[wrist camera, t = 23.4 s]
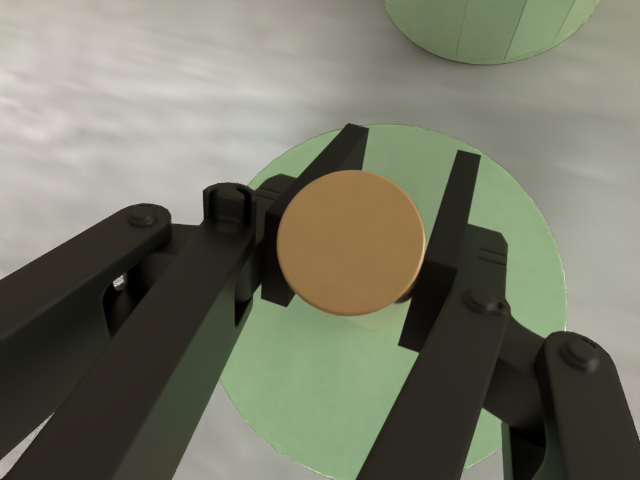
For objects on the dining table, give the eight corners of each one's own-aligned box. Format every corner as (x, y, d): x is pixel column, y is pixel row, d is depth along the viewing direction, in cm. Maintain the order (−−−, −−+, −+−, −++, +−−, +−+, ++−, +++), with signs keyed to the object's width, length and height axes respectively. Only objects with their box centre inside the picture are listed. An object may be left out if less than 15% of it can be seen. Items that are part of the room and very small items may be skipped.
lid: (614, 435, 17) (914, 562, 7) (246, 511, 18) (66, 703, 8) (491, 97, 20) (578, -138, 10) (190, 184, 22) (16, 50, 12)
